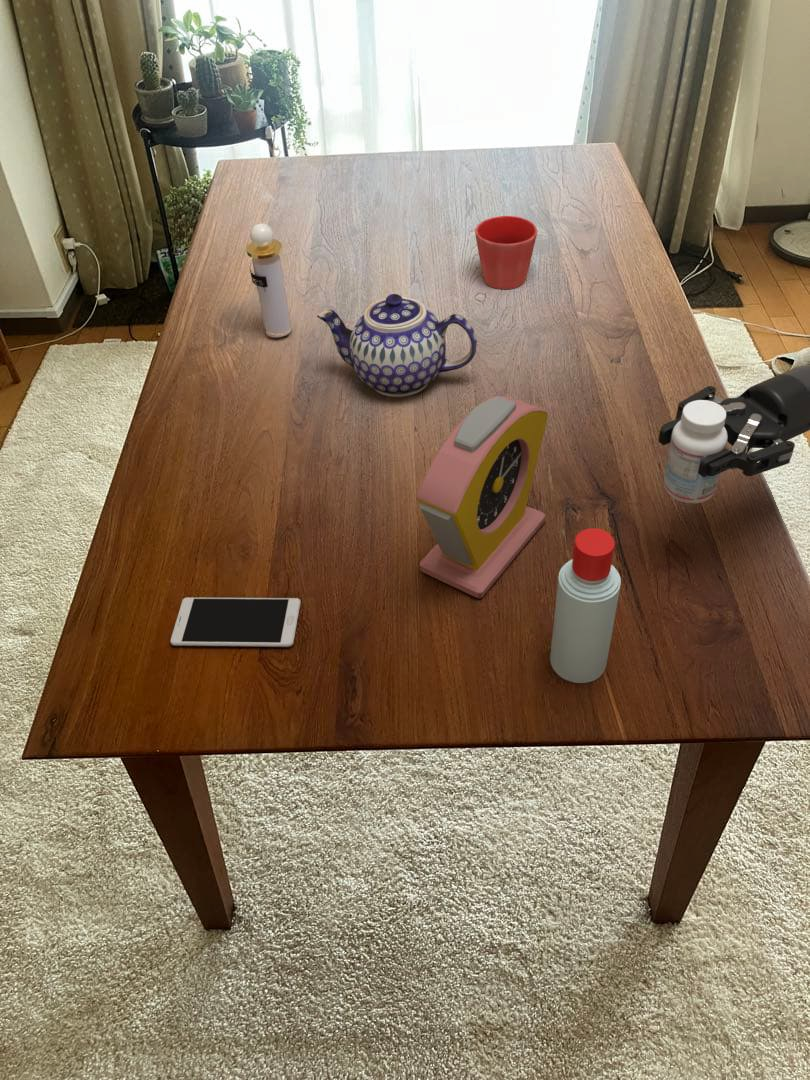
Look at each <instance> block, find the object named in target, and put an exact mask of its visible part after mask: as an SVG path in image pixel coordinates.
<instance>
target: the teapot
mask: <svg viewBox="0 0 810 1080" xmlns="http://www.w3.org/2000/svg"><path fill="white" fill-rule="evenodd" d="M316 317H317V318H318V319H320V320H321V321H323V322H324V323H325V324H327V326H328V328H329V329H330V331H331V334H332V337H333V341H334V344H335V347H336V349H337V352H338V354H339V356H340V358H341V359H342V361H344V362H345V363H346V364H347V365H348V366H350V367H352V368H353V369H354V371H355V373H356V375H357V377H358V378H359V380H361V381H362V382H363V383H364V384H365V385H366V386H368V387H369V388H371V389H372V390H375V391H376V392H377V393H378V394H381V395H383V396H387V397H392V398H402V397H403V398H404V397H409V396H413V395H415V394H419V393H420V392H421V391H423V390H425V388H426V387H428V385H429V384H431V382H432V381H434V380H435V379H436V378H437V377H438V375H439V374H441V373H446V372H450V371H455V370H459V369H461V368H463V367H465V366H467V365H468V364H470V363H471V362H472V360H473V359H474V357H475V355H476V354H477V344H478V341H477V335H476V332H475V330H474V328H473V326H472V324H471V323H470V322H469V321H468V320H467V319H466V318H465V317H464V316H462V315H461V314H458V313H453V314H450V315H449V316H447V317H445V318H444V319H443V320H441V321H440V320H439V318H438V317H437V316H436V314H435V313H433V312H432V311H431V310H429V309H427V308H426V306H425V304H424V303H423V302H422V301H420V300H418V299H416V298H412V297H407V296H402V295H399V294H397V293H391V294H389V295H387V296H386V297H385V298H381V299H378V300H376V301H374V302H373V303H371V304H370V305H368V306H367V307H366V309H365V311H364V313H363V314H362V316H360V317H359V319H358V320H357V322H356V323H355V325H354V327H353V329H350V328H349V327H347V326H346V325H345V322H344V321H343V320H342V318H341V317H340V316H339V314H338V313H337V312H336V311H335V310H333V309H327V310H322V311H321V312H319V313H318V314H317V315H316ZM452 324H455V325H458V326H459V327H460V328H462V329H463V330H464V332H466V334H467V337H468V338H469V340H470V349H469V351H468V353H467V354H466V355H465V356H464V357H462V358H460V359H458V360H453V361H450V360H448V359H447V358H446V351H447V350H446V349H447V348H446V347H447V345H446V333H447V330H448V327H449V326H450V325H452Z"/></svg>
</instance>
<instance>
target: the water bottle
mask: <svg viewBox="0 0 810 1080" xmlns="http://www.w3.org/2000/svg"><path fill="white" fill-rule="evenodd" d="M572 562H573V558H571V559H569V560H568V561H567V562H566V563H565V564H563V566H561V568H560V570H559V572H558V575H557V577H558V578H557V585H556V586H557V587H556V597H555V607H554V616H553V624H552V625H553V626H552V636H551V645H550V654H549V662H550V666H551V668H552V670H553V671H554V672H555V673H556V674H557V675H558V676H559V677H560V678H561V679H563V680H565V681H567V682H570V683H574V684H587V683H591V682H594V681H596V680H597V679H599V678H600V677H601V676H602V675H603V674H604V673H605V672H606V671H605V670H606V668H607V665H608V664H607V663H608V658H609V654H610V647H611V642H612V635H613V631H614V625H615V624H614V623H615V618H616V613H617V609H618V608H617V607H618V602H619V596H620V591H621V585H622V579H621V575H620V573H619V572H618V570H617V569H616V568H615V566H614V565H613V564H611V570H610V573H609V575H608V576H607V577H606V578H604V579H603V580H600V581H586V580H583V579H581V578H579V577H578V576H577V575H576V574H575V573H574V571H573V569H572Z"/></svg>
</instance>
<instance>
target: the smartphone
mask: <svg viewBox="0 0 810 1080" xmlns="http://www.w3.org/2000/svg"><path fill="white" fill-rule="evenodd" d="M301 603H302V602H301V599H300V598H297V597H195V596H194V597H189V596H188V597H184V598H183V599H182V601H181V603H180V607H179V610H178V614H177V617H176V620H175V623H174V627H173V630H172V633H171V636H170V641H169V642H170V644H171V645H172V646H174V647H239V648H240V647H243V648H244V647H248V648H250V647H251V648H253V647H254V648H255V647H256V648H261V647H262V648H291V647H292V646H293V645H294V641H295V636H296V631H297V627H298V626H297V625H298V620H299V615H300V609H301Z"/></svg>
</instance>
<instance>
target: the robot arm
mask: <svg viewBox="0 0 810 1080" xmlns="http://www.w3.org/2000/svg"><path fill="white" fill-rule="evenodd" d="M716 391H717V388H716V387H715V386H713V385H708V386H706V387H703V389H701V390H699V391H697V392H695V393H694V394H692V395H690V396H688V397H686V398H685V399H683V400H681V401H680V402H678V404H677V409H676V415H675V419H672V420H671V421H668V422H666V423H664V424H662V425H661V427H660V430H659V434H658V440H657V441H658V443H659V444H661V445H662V446H666V445H668V444H670V442H671V436H672V431H673V429H674V427H675V425H676V424H677V423H678V422H679V421H680V420H681V416H682V412H683V409H684V407H685V406H686V405H687V404H688V403H690V402H692V401H696V400H708V401H712V402H715V403H717V404H719V405H721V406H722V407H723V408H724V409H725V411H726V419H725V425H724V428H725V429H726V431H727V436H728V439H727V443H728V444H730V446H732V447H731V449H728V448H727V447H726V448H725V449H724V450H722V451H720V452H718V453H715V454H713V455H711V456H709V457H706V458H704V459H703V460H702V461H701V462H700V466H699V470H698V474H700V475H701V476H702V477H706V476H715V475H717V474H719V473H720V474H721V473H723V472H726V471H728V470H737V469H739V470H741V471H742V474H743V475H744V476H746V477H753V476H756V475H759V474H761V473H765V472H767V471H771V470H773V469H777V468H780V467H782V466H785V465H788V464H790V463H791V459H792V457H793V454H794V450H795V446H796V443H795V442H793V441H792V440H791V439H794V438H796V437H798V436H800V435H802V434H805V433H806V432H809V431H810V363H807V364H805V365H800V366H796V367H794V368H791V369H789V370H786V371H784V372H782V373H779V374H778V375H774V376H773V377H770V378H767V379H766V380H763V381H761V382H759V383H756V384H754V385H752V386H750V387H749V388H747V389H746V390H745V391H743V392H742V393H741V394H740V395H739V396H737V397H727V398H722V397H721V396H719V395H717V394H716ZM753 449H757V450H754V451H751V450H753ZM720 474H719V475H720Z"/></svg>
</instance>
